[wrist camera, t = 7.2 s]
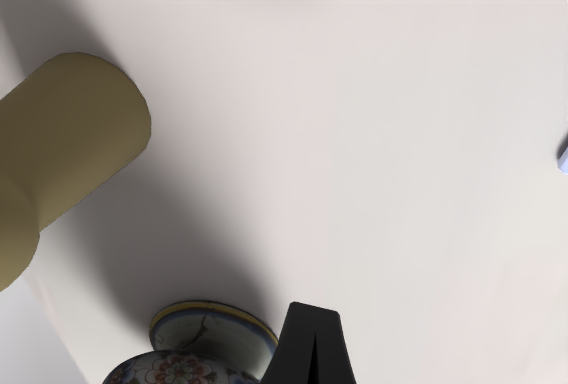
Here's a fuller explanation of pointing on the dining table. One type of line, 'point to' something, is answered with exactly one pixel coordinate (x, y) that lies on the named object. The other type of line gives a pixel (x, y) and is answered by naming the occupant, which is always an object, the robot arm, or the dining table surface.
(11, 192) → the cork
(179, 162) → the dining table surface
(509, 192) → the dining table surface
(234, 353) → the apothecary jar
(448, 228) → the dining table surface
